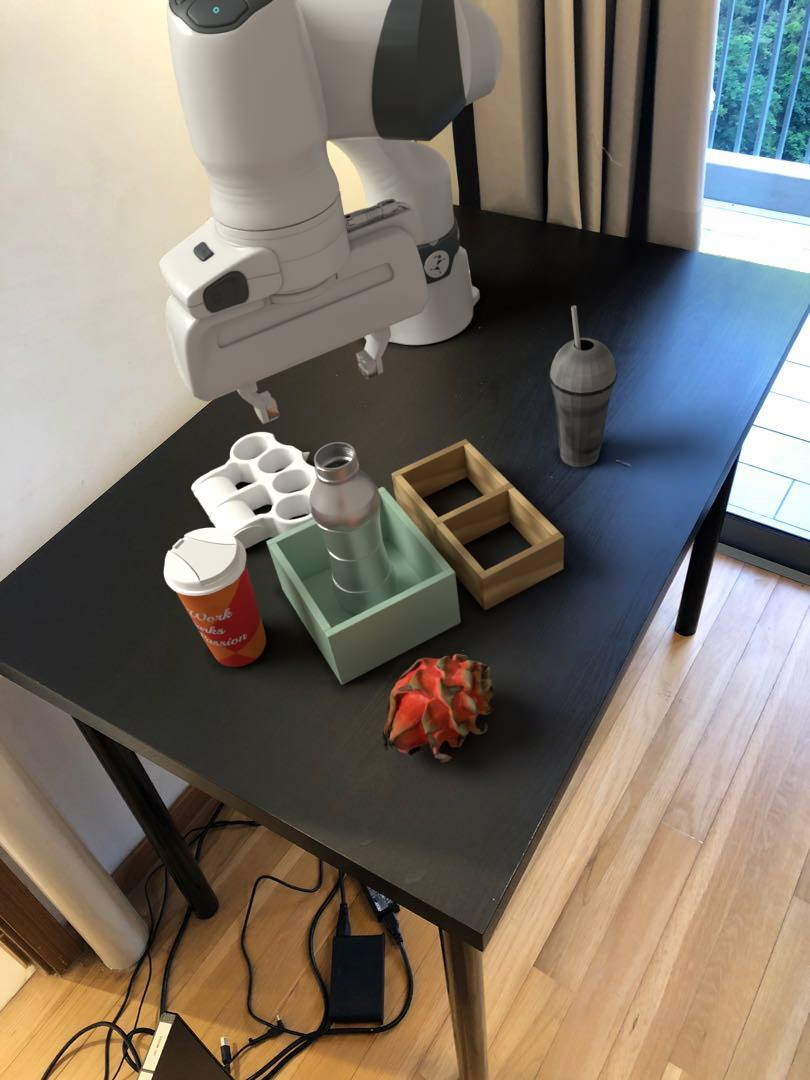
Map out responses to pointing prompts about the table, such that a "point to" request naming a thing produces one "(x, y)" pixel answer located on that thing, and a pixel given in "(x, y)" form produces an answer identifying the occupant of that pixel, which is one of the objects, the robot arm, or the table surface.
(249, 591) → the paper cup
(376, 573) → the silver metal bottle
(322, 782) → the table surface
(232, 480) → the knuckle duster
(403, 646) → the open storage box
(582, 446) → the beverage cup
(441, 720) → the dragon fruit
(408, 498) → the rack
